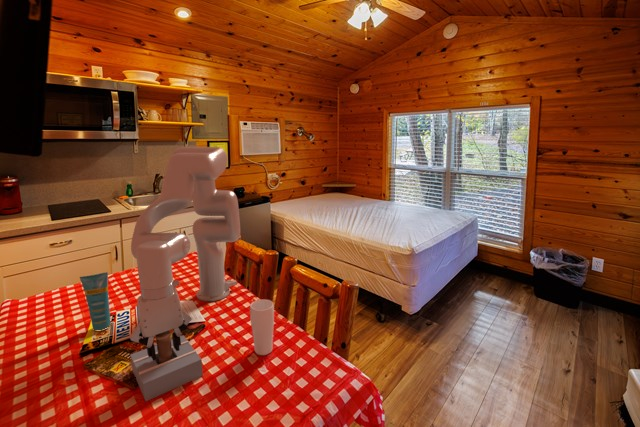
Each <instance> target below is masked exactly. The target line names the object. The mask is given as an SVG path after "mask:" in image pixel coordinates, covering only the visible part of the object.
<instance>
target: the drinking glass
mask: <svg viewBox="0 0 640 427" xmlns="http://www.w3.org/2000/svg"><path fill="white" fill-rule="evenodd" d="M274 305H275V304H274V302H273V301H272V300H270V299H265V298H264V299H257V300H254V301H253V302H251V303H250V305H249V314H250V316H249V317H250V324H251V333H252V338H253V346H254V347H253V348H254V352H255V354H256V355H258V356H266V355H269V354H270V353H271V352H272V351H273V347H274V346H273V342H274V328H275V327H274V326H275V325H274V323H275V308H274V307H275V306H274Z"/></svg>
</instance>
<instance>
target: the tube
mask: <svg viewBox="0 0 640 427" xmlns="http://www.w3.org/2000/svg"><path fill="white" fill-rule="evenodd" d="M108 276H109V274H108V271H107V272H100V273H96V274H91V275H90V274H89V275H83V276H79V279H80V283H81V285H82V289H83V291H84V295H85V299H86V303H87V307H88V311H89V316H90V320H91V325H92V330H93V329H94V330H102V329H105V328H107V327H108V326H109V325H110V324H111V313H110V300H109V283H108V280H109V279H108V278H109V277H108ZM94 330H93V331H94Z"/></svg>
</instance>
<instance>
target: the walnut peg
mask: <svg viewBox="0 0 640 427" xmlns="http://www.w3.org/2000/svg"><path fill="white" fill-rule="evenodd" d="M154 337H155V340H156V342H155V343H156V345H157V350H158V358H159V364H161V363H164V362H166V361H169V360H171V359H173V355H172V346H171V340H172V338H171V330H169V331H166V332H163V333H160V334H157V335H154Z"/></svg>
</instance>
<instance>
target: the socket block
mask: <svg viewBox="0 0 640 427" xmlns="http://www.w3.org/2000/svg"><path fill="white" fill-rule="evenodd" d="M180 340H181V345H179V349H180V350H179V351H176V349H175V348H174V346H173V339H172V338H171V346H172V355H173V359H171V360H169V361H166V362H164V363H161V364H159V358H158V350H157V344H155V345H154V346H155V353H156V359H155V360H153V359H152V357H151V356H150V357H149V356H148V353H147V348H144V349H142V350H139V351H137V352H134V353H130V362H131V368H132V373H133V375H134V378H135V377H136V378H135V379H136V382H137V384H138V387H139V389H140V391H141V394H142V396H143V398H144V402H148V401H150V400H151V399H152V400H153V399H154V398H157V397H159V396H161V395H163V394H166V393H168V392H170V391H172V390H174V389H177V388H178V387H182V386H183V385H185V384H187V383H188V384H189V382H192V381H194V380H196V379H199V378H201V377H203V376H204V374H203V373H204V372H203V371H204V370H203V363H202V362H203V361H202V358H201V356H199V354H198V353H197V350H195V349H194V347H193V346H192V345H191V344H190V341H189V340H188V339H187V338H186V337H185V335H183V334H182V335H181V336H180Z"/></svg>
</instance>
